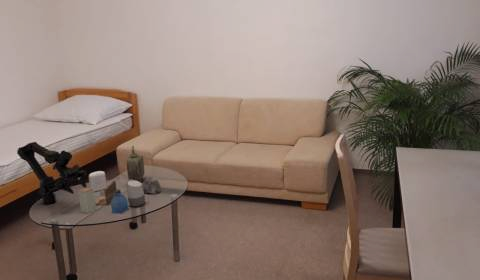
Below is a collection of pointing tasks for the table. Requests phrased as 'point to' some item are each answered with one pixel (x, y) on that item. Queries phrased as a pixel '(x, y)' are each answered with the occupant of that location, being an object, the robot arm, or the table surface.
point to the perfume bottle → (119, 202)
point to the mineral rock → (151, 186)
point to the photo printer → (97, 181)
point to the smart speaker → (135, 193)
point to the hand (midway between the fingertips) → (79, 190)
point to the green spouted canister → (135, 166)
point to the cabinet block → (87, 200)
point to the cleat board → (107, 195)
